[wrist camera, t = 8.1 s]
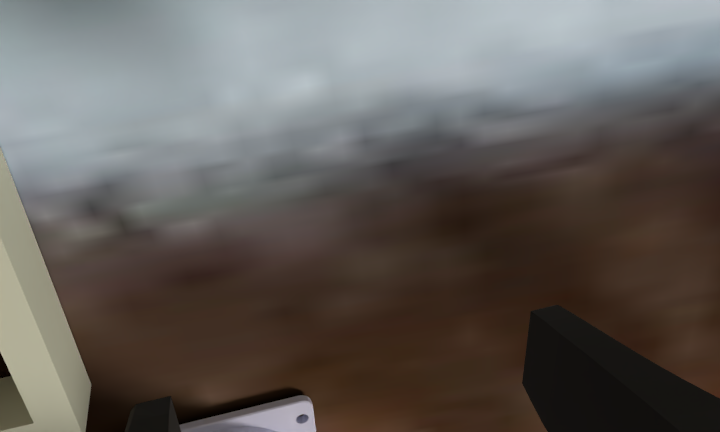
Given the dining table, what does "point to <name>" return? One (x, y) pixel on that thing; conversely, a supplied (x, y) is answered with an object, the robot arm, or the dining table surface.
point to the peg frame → (34, 333)
